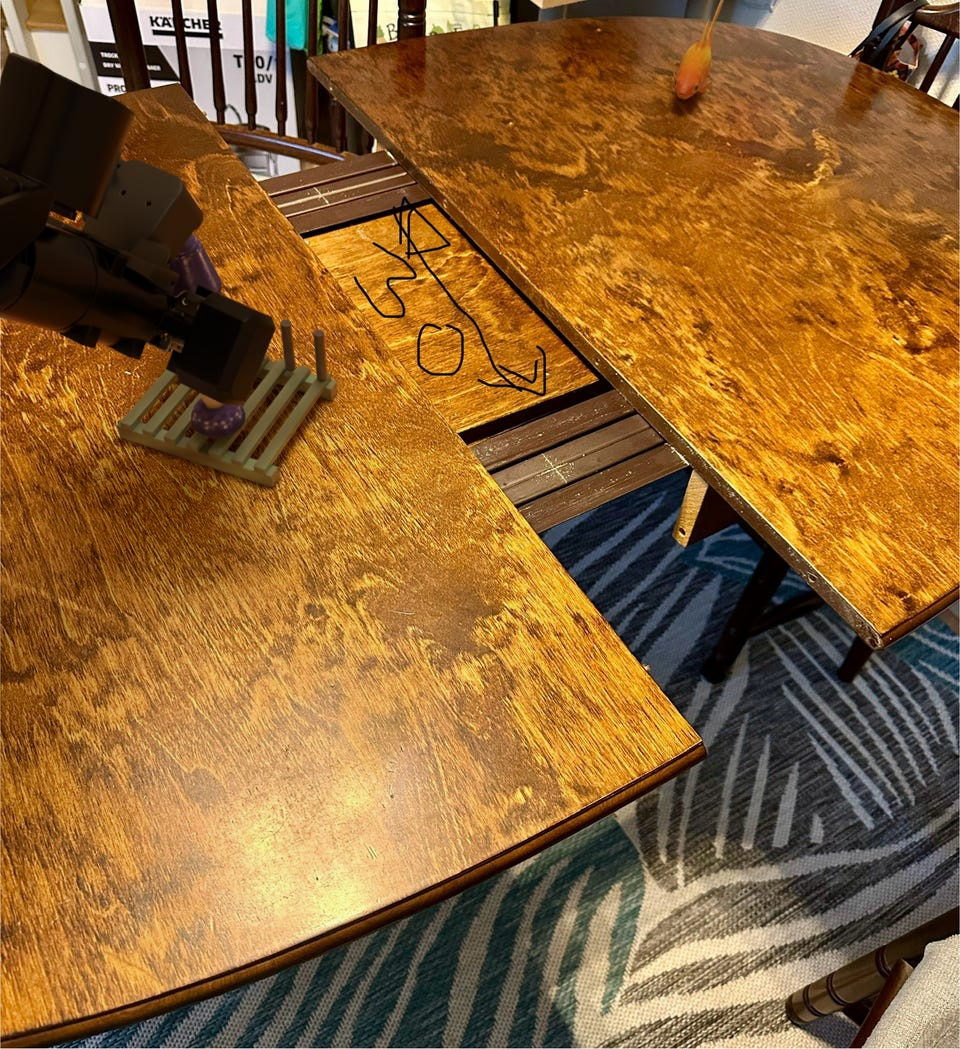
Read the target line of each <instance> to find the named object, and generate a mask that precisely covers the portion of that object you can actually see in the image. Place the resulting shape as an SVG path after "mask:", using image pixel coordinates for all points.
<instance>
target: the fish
mask: <svg viewBox="0 0 960 1049" xmlns="http://www.w3.org/2000/svg"><path fill="white" fill-rule="evenodd" d="M724 2H725V1H724V0H720V1H719V4H718V6H717V8H716V11H715V14H714V15H713V19H712V21H711V24H710V19H708V20H707V23H706V25H705V27H704V29H703V31H702V35H701V37H700V40H699V41H697V42H695V43H694V44H692V45H691V46H690V47H689V48H688V49H687V50H686V52H685V54H684V56H683V57H682V59H681V62H680V63H679V66H678V69H677V71H675V70H672V78H673V85H674V90H675V92H676V95H677V97H678V99H681V100H687V99H689V98H691V97H692V96H694V95H695V94H696V93H701V94H702V93H703V92H705V91H707V89H709V88H710V86H711V85H712V84H713V83H714V80H711V77H708V76H709V74H710V71H711V70H712V67H713V63H712V60H713V58H712V46H713V39H714V30H713V27H714V25H715V24H716V22H717V19H718V16H719V14H720V12H721V9H722V7H723V4H724Z"/></svg>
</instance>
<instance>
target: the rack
mask: <svg viewBox="0 0 960 1049" xmlns="http://www.w3.org/2000/svg"><path fill="white" fill-rule="evenodd" d="M279 325H280V336H281V343H282V352H283V358H279V359H278V360H277V361H273V360H270V355H269V354H267V353H266V355H265V357H264V360H263V362H262V364H261V367H260V369H259V372H258V374H257V377H256V379H260V380H262V381H261V382H260V383H259V385H258V386H257V387H256V389H255V390H254V391H253V392H252V394H251V395H249V397H248V399H247V402H245V403H243V405H242V407H243V409H244V411H245V422H244V424H243V425H242V427H241V428H240V429H239V430H238V431H236V432H235V433H233V434H231V435H228V436H224V437H217V439H216V441H214V443H213V445H212V444H210V443H207V441H208V440H209V439H210V437H208V436H204V435H202V434H200V433H199V432H197V431H196V430H195V432H194V433H193V434H192V435H191V437H188V436H185V434H186V433H187V432H188V431H189V429H190V428H191V426H193V425H192V422H191V414H192V410H193V407H194V405H195V404H196V403H197V401H198V400H199V399H201V398H202V396H201V393H199V392H198V394H197V395H196V397H195V398H194V399H193V400H192V401H191V403H190V404H189V406H187V408H186V409H185V410H184V411H183V413H182V414H181V415H180V416H179V417H178V418H177V419H176V420H175V422H174V424H172V426H171V427H169V429H168V430H167V429H163V427H164V426H165V425H166V424H167V423H168V421H169V420H170V419H171V418H172V417H173V415H174V414H175V413H176V411H177V410H178V409H179V408H180V407H181V406H182V404H183V403H184V402H185V401H186V399H188V397H189V396H190V395H191V394H192V393H193V392H194V390H193V389H191V388H189V387H187V386H185V385H183V384H181V383H179V385H178V386H177V388H176V389H175V390H174V391H173V392H172V393H171V394H170V396H168V398H167V399H166V400H165V401H164V403H163V404H162V405H161V406H160V407H159V408H158V409H157V411H156V412H155V413H154V414H153V415H152V416H151V417H150V419H149V420H148V421H147V423H145V422H141V421H142V419H143V418H144V417H145V416H146V415H147V414H148V413H149V412H150V410H151V409H152V408H153V407H154V406H155V405H156V403H158V401H159V400H160V399H161V397H162V396H163V395H164V394H165V393H166V392H167V390H168V389H170V387H171V386H172V385H173V384H174V382H175V381H176V380H178V377H177V375H176V374H174V373H172V372H170V371H168V370H166V369H165V370H164V372H163V373H162V374H161V375H160V376H159V377H158V378H157V379H156V381H155V382H153V384H152V385H151V386H150V388H148V389H147V391H146V392H145V393H144V394H143V395H142V396H141V397H140V399H139V400H138V401H137V402H136V403H135V404H134V405H133V407H132V408H131V409H130V410H129V411H128V412H127V413H126V415H125V416H123V417H122V418H121V420H120V421H119V422H117V424H116V425H115V426H116V429H117V432H118V436H119V438H120V439H124V440H127V441H130V442H133V443H135V444H139V445H142V446H145V447H148V448H151V449H154V450H157V451H159V452H163V453H165V454H169V455H171V456H174V457H178V458H181V459H184V460H187V461H190V462H193V463H196V464H199V465H202V466H205V467H208V468H211V469H214V470H217V471H220V472H223V473H226V474H229V475H232V476H235V477H238V478H241V479H245V480H247V481H251V482H254V483H257V484H259V485H262V486H266V487H269V488H272V489H273V488H274V487H275V485H276V484H277V482H278V481H279V480H280V474H279V467H278V466H276V465H273V463H275V461H276V460H277V458H278V457H279V455H280V454H281V452H282V451H283V450H284V448H285V447H286V445H287V444H288V443H289V441H290V440H291V439H292V437H293V435H294V434H295V433H296V431H297V430H298V428H299V427H300V425H301V424H302V422H303V421H304V420H305V418H306V417H307V415H308V414H309V412H310V411H311V409H312V408H313V407H314V405H315V403H317V401H318V400H319V398H320V399H324V400H327V401H330V402H332V401H333V400H334V399H335V397H336V396H337V394H339V393H338V392H339V391H338V381H337V380H335V379H332V374H331V373H328V368H327V367H328V366H327V352H326V339H325V332H324V330H322V329H316V330H314V331H313V333H312V336H313V348H314V349H313V350H314V360H315V369H316V370H315V372H316V374H315V373H312V372H311V367H308V366H306V365H302V364H300V365H298V367H297V364H296V355H295V347H294V338H293V337H294V336H293V327H292V321H291V320H289V319H283V320H281V321H280V322H279ZM277 385H279V386H283V387H282V389H281V390H280V391H279V393H278V394H277V395H276V397H275V398H274V400H272V402H271V403H270V405H269V406H268V408H267V409H266V410H265V411H264V413H263V414H262V416H261V417H260V418H259V420H258V421H257V423H255V425H254V426H253V427H252V429H251V430H250V432H249V433H248V435H247V436H246V437H245V439H244V440H243V441H242V443H241V444H240V445H239V447H238V448H237V449H236V451H235V452H234V451H232V450H231V451H230V450H229V448H231V446H232V444H233V443H234V442H235V441H236V439H237V437H238V436H239V435H240V434H241V432H242V431H243V430H244V428H245V427H246V426H247V425H248V423H249V422H250V421H251V419H252V418H253V417H254V415H255V414H256V412H257V411H258V410H259V409H260V407H261V406H262V405H263V403H265V401H266V399H267V398H268V397H269V396H270V394H271V392H272V391H273V390H274V389H275V387H276V386H277ZM298 392H301V393H304V395H303V396H302V398H301V399H300V401H299V402H298V403H297V404H296V406H295V407H294V409H293V410H292V412H290V414H289V415H288V417H287V419H286V420H285V421H284V423H283V424H282V425H281V427H280V428H279V430H278V431H277V432H276V434H275V435H274V437H273V438H272V439H271V441H270V443H269V444H268V445H267V447H266V448H265V449H264V451H263V452H262V454H261V455H260V456H259V458H258V459H254V458H252V457H251V456H252V455H253V454H254V452H255V451H256V449H257V448H258V446H259V445H260V444H261V443H262V442H263V440H264V438H265V437H266V435H267V434H268V433H269V431H270V430H271V429H272V427H273V426H274V424H276V421H277V420H278V419H279V417H280V416H281V415H282V413H283V412H284V410H286V408H287V407H288V405H289V404H290V402H291V401H292V400H293V398H294V397H295V396H296V394H297V393H298Z"/></svg>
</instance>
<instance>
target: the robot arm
mask: <svg viewBox="0 0 960 1049" xmlns="http://www.w3.org/2000/svg"><path fill="white" fill-rule="evenodd" d="M135 118H136V113H135V112H134V111H133V110H132V109H131V108H129V107H128V106H126V105H125V104H124V103H122V102H120V101H119V100H117V99H116V98H113V97H111V96H109V95H107V94H104V93H103V92H99V91H97V90H95V89H92V88H90V87H87V86H84V85H82V84H80V83H78V82H76V81H75V80H72V79H70V78H68V77H66V76H64V75H62V74H60V73H58V72H56V71H54V70H52V69H51V68H49V67H48V66H46V65H45V64H43V63H41V62H39V61H37V60H34V59H31V58H29V57H26V56H24V55H21V54H19V53H16V52H14V51H12V52H10V53H7V57H6V60H5V62H4V66H3V68H2V71H1V75H0V319H4V320H8V321H12V322H15V323H20V324H22V325H23V324H24V325H27V326H31V327H35V328H38V329H42V330H46V331H51V332H53V333H57V334H59V335H61V336H63V337H64V338H66V339H69V340H70V341H73V342H74V343H76V344H79V345H81V346H83V347H87V348H89V349H90V348H91V349H94V350H95V349H96V347H97V344H100V345H104V346H105V347H107V348H109V349H111V350H113V351H116V352H118V353H120V354H121V355H124V356H125V357H127V358H130V359H134V360H138V361H139V360H141V358H142V355H143V353H144V350H145V347H146V345H147V344H148V345H150V346H152V347H154V348H156V349H157V350H160V351H162V352H165V353H170V357H169V359H168V362H167V363H166V367H165V371H166V370H168V371H170V372H172V373H174V374H176V375H177V377H178V378H177V381H178V383H179V384H183V385H185V386H187V387H189V388H191V389H193V391H195V392H197V393H198V394H199V393H201V394H203V395H205V396H207V397H209V398H211V399H213V400H215V401H217V402H219V403H222V404H227V405H232V406H238V405H242V404H243V405H244V404H245V403H246V402H247V400H248V399H249V398H250V394H251V391H252V389H253V387H254V384H255V382H256V379H257V378H256V377H257V374H258V372H259V369H260V367H261V364H262V362H263V360H264V357H265V355H266V354H267V353H268V350H269V347H270V345H271V342H272V340H273V337H274V335H275V332H276V329H277V328H276V324H275V321H274V318H273V316H271V315H269V314H267V313H264V312H263V311H260V310H258V309H256V308H253V307H251V306H249V305H247V304H244V303H242V302H240V301H238V300H235V299H234V298H231V297H228V296H227V295H225V294H222V293H220V294H219V293H217V292H215V291H214V292H213V291H211V290H209V289H207V288H204V287H202V286H200V285H198V287H197V289H196V292H195V293H193V292H190V291H183V292H181V293H180V294H179V295H178V296H174V295H172V294H170V293H172V292H173V290H174V287H175V285H176V282H177V279H178V277H179V274H178V273H175V272H173V271H171V270H169V269H166V268H165V267H166V265H167V264H169V263H171V262H172V261H173V260H174V259H175V258H176V256H177V255H178V253H179V252H180V250H181V249H182V248H183V246H184V245H185V243H186V242H187V240H188V239H189V237H190V236H191V235H192V234H194V232H195V231H197V230H199V228H200V227H201V225H202V224H203V222H204V219H205V216H204V211H203V210H202V209H201V207H200V205H199V204H198V203H197V201H196V200H195V198H194V197H193V195H192V193H190V191H189V189H188V188H187V186H186V185H185V184H184V182H183V181H182V178H180V177H179V176H178V175H176V174H173V173H171V172H168V171H166V170H164V169H161V168H159V167H156V166H154V165H152V164H149V163H147V162H144V161H142V160H140V159H129V160H124V159H122V158H121V156H122V153H123V150H124V148H125V145H126V143H127V140H128V137H129V134H130V132H131V128H132V126H133V124H134V120H135ZM78 212H79V213H81V219H82V221H83V222H84V225H83V226H82V228H81V229H80V228H78V227H76V226H74V225H71V224H69V223H67V222H65V221H62V220H60V219H57V218H55V217H53V216H50V214H51V213H54V214H56V215H58V216H60V217H63V218H65V219H68V220H70V221H72V222H76V220H77V217H78V214H79V213H78ZM167 292H169V293H167ZM177 310H179V311H177ZM180 311H181V312H180Z"/></svg>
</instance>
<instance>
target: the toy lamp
mask: <svg viewBox="0 0 960 1049" xmlns="http://www.w3.org/2000/svg"><path fill="white" fill-rule="evenodd" d="M165 268H166V269H169V270H171V271H173V272H175V273H178V274H179V277H178V279H177V282H176V285H175V287H174V290H173V292H172V293H170V294H172V295H174V296H178V295H179V294H180V293H181V292H183V291H190V292H193V293H195V292H196V289H197V287H198V285H200V286H202V287H204V288H207V289H209V290H211V291H213V292H214V291H215V292H217V293H219V294H222V291H223V290H222V289H223V287H222V286H223V285H222V282H221V278H220V275H219V273H218V271H217V269H216V267H215V266H214V264H213V262H212V260H211V258H210V256H209V254H208V253H207V251H206V249H205V247H204V245H203V244H202V242H201V240H200V239H199V238H198V237H197V236H196V235H195V234H194V233H192V235H191V236H190V237H189V239H188V240H187V242H186V243H185V245H184V246H183V248H182V249H181V250H180V252H179V253H178V255H177V256H176V258H175V259H174V260H173V261H172V262H171V263H169V264H167V265H166V267H165ZM167 293H169V292H167ZM177 311H179V310H177ZM180 312H181V311H180ZM201 396H202V398H201V399H199V400H198V401H197V403H196V404H195V405H194V407H193V410H192V414H191V422H192V425H191V426H192V427H193V429H194V430H195V432H196V431H197V432H199V433H200V434H202V435H204V436H208V437H209V438H219V437H224V436H228V435H231V434H233V433H235V432H236V431H238V430H239V429H240V428H241V427H242V425H243V424H244V422H245V411H244V409H243V405H242V404H241V405H238V406H232V405H227V404H222V403H219V402H217V401H215V400H213V399H211V398H209V397H207V396H205V395H203V394H201Z"/></svg>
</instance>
